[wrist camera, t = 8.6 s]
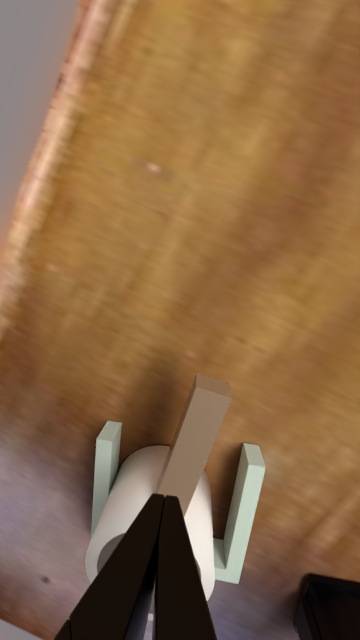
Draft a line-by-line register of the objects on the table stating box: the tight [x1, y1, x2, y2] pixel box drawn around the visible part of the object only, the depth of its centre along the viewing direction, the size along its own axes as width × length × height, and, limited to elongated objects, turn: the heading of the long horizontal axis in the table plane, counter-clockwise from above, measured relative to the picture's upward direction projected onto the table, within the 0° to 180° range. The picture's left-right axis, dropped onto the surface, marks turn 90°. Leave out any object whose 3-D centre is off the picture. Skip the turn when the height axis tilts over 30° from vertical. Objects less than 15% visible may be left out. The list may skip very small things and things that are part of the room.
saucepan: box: [85, 373, 232, 621], centre depth 17 cm, size 16×8×6 cm, turn 163°
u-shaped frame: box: [91, 421, 266, 584], centre depth 20 cm, size 12×11×2 cm
